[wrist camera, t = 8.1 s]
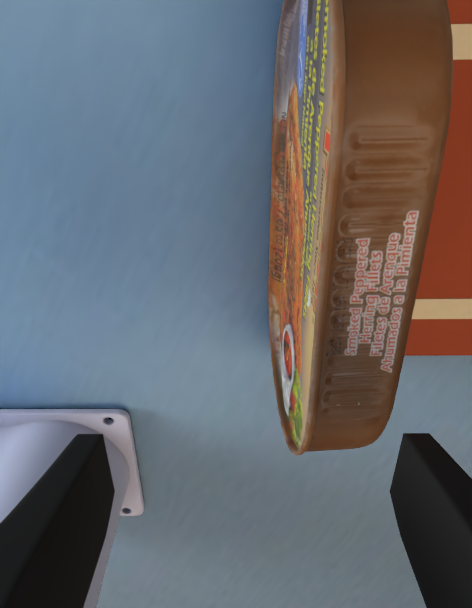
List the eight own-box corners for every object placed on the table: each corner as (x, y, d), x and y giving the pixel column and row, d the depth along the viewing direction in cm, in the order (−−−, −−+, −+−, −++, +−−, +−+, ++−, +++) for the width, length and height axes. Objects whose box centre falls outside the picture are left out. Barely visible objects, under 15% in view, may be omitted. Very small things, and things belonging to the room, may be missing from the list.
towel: (352, 348, 21) (355, 356, 21) (408, -50, 14) (415, -55, 13) (501, 348, 21) (508, 356, 21) (636, -54, 14) (652, -58, 13)
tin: (276, -34, 14) (315, -126, 7) (376, -35, 14) (524, -130, 7) (265, 356, 22) (278, 513, 14) (331, 355, 22) (379, 513, 14)
